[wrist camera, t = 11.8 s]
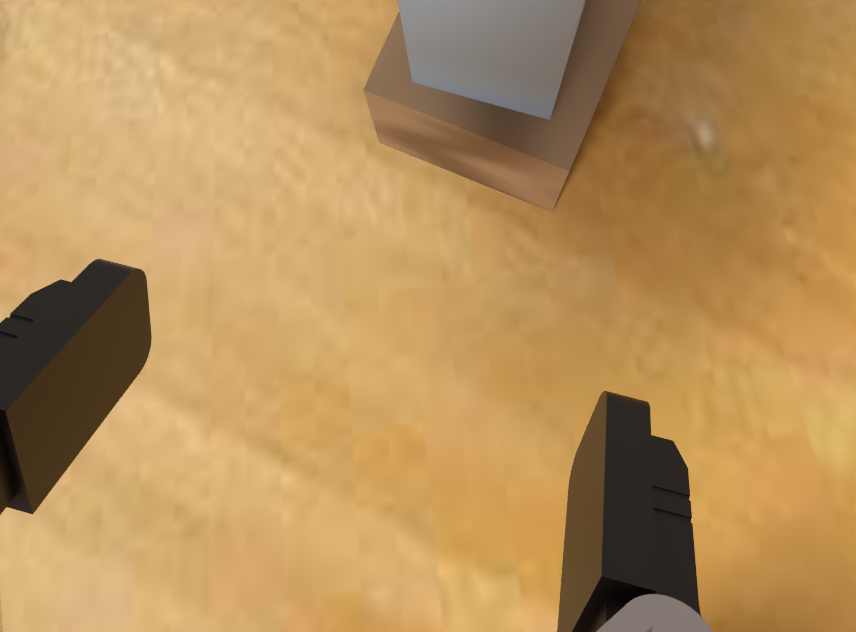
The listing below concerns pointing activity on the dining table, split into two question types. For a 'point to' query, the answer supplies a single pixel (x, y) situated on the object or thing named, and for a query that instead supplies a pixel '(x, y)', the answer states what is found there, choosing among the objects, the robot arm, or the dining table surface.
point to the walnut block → (500, 113)
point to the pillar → (492, 48)
